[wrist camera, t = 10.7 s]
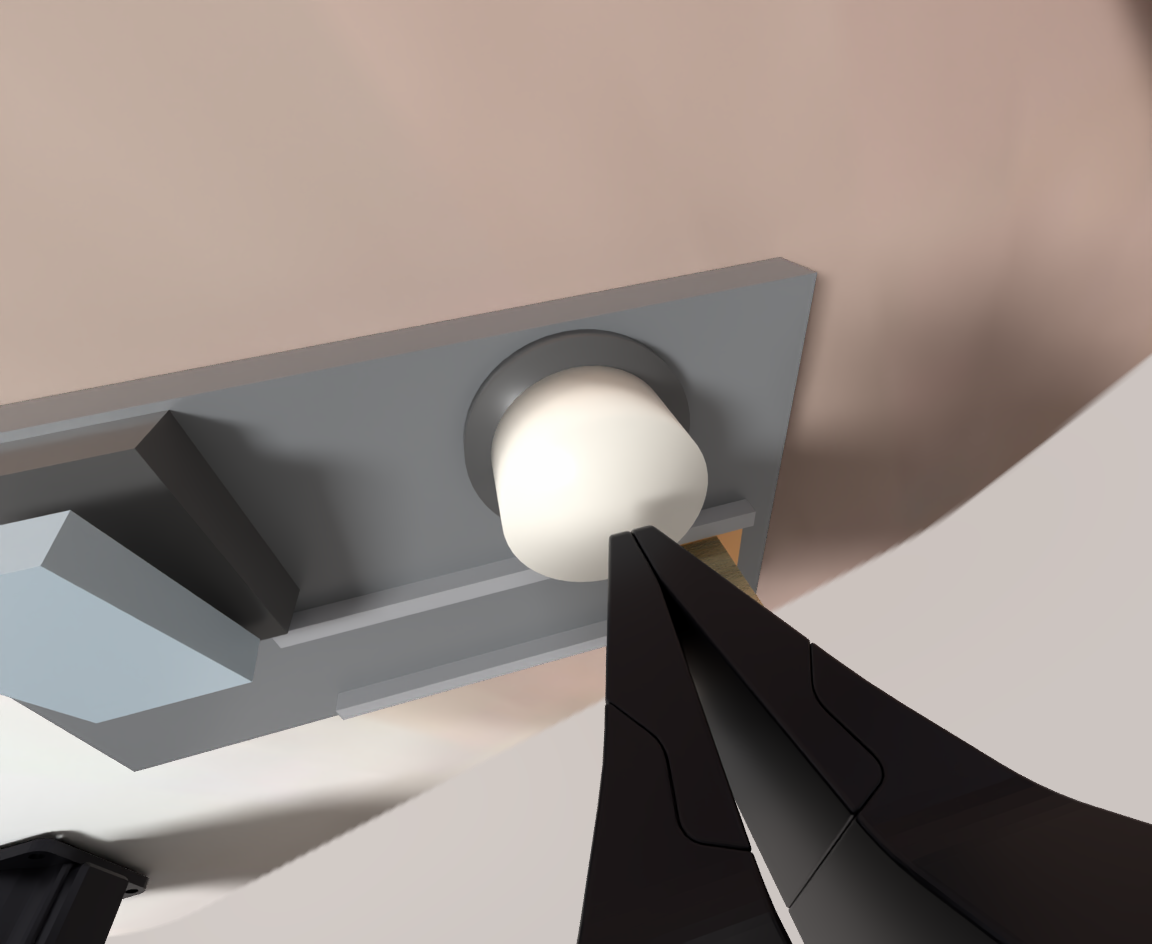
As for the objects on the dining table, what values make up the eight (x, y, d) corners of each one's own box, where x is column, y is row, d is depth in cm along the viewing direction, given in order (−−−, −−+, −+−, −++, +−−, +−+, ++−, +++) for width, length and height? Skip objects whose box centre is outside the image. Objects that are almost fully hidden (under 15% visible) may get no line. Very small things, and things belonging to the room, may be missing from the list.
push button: (511, 536, 13) (522, 601, 11) (470, 388, 10) (478, 445, 8) (667, 497, 13) (702, 554, 12) (669, 347, 11) (714, 392, 9)
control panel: (155, 726, 17) (112, 820, 15) (-234, 449, 10) (-440, 554, 7) (735, 569, 20) (774, 629, 17) (780, 257, 12) (859, 290, 10)
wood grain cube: (656, 600, 17) (692, 679, 14) (656, 549, 15) (696, 628, 13) (710, 585, 17) (754, 660, 15) (715, 533, 15) (765, 608, 13)
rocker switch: (112, 676, 11) (96, 723, 10) (-170, 562, 7) (-226, 626, 6) (259, 639, 11) (252, 681, 11) (70, 510, 7) (41, 565, 7)
